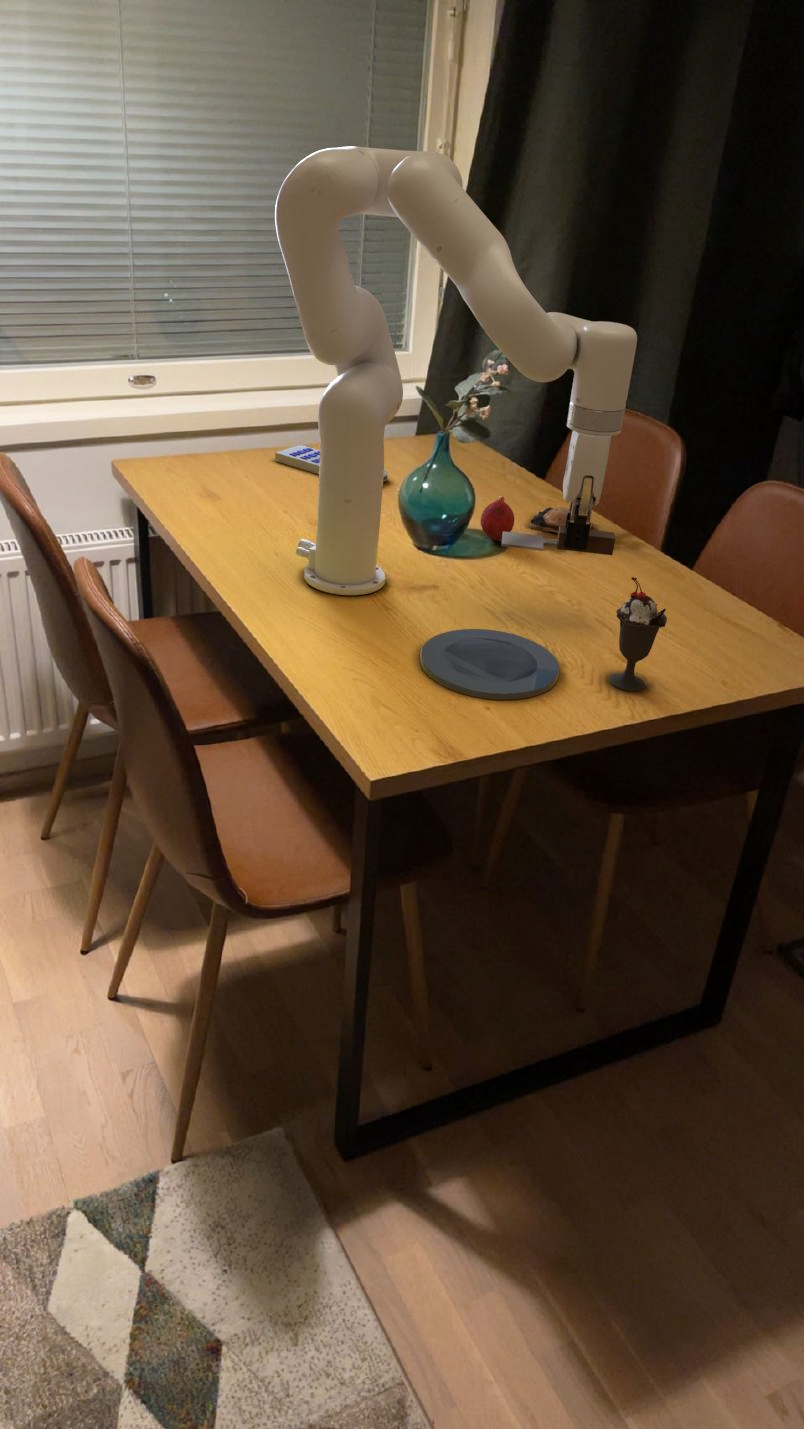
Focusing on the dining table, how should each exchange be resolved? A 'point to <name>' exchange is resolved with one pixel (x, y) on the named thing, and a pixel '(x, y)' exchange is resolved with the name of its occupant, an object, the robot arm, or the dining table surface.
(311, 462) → the remote control
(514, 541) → the spatula
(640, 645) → the sundae
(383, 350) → the robot arm
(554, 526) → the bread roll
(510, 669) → the plate
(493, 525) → the onion
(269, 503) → the dining table surface
